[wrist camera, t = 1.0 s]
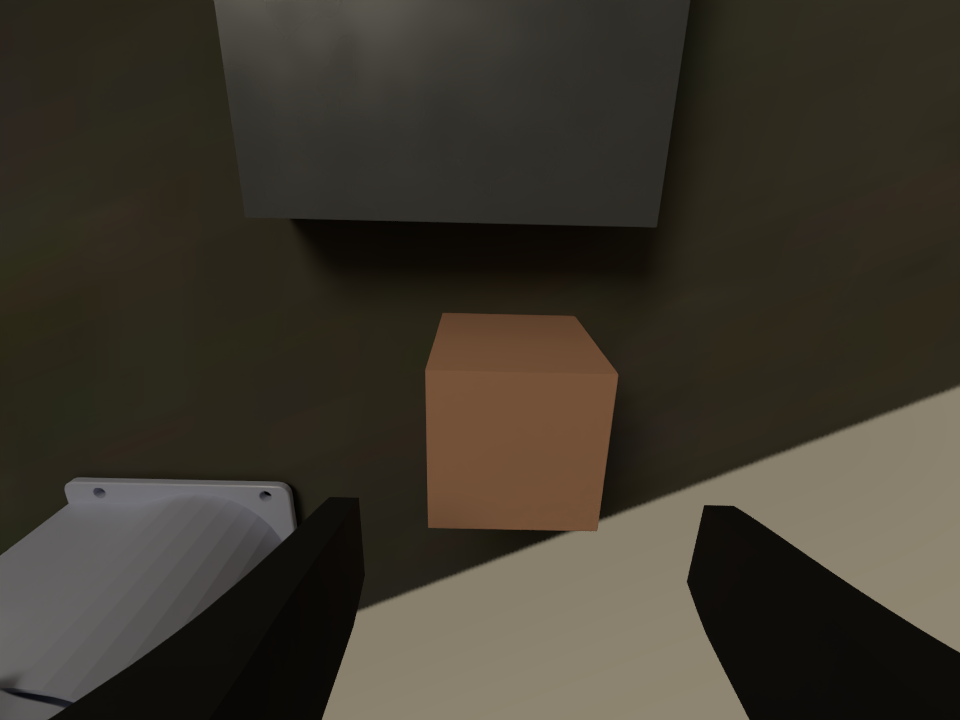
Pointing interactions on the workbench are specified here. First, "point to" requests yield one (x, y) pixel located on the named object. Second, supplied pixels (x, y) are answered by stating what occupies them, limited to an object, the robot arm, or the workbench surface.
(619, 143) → the steel base
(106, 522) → the robot arm
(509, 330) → the terracotta block
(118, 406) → the workbench surface
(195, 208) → the workbench surface
